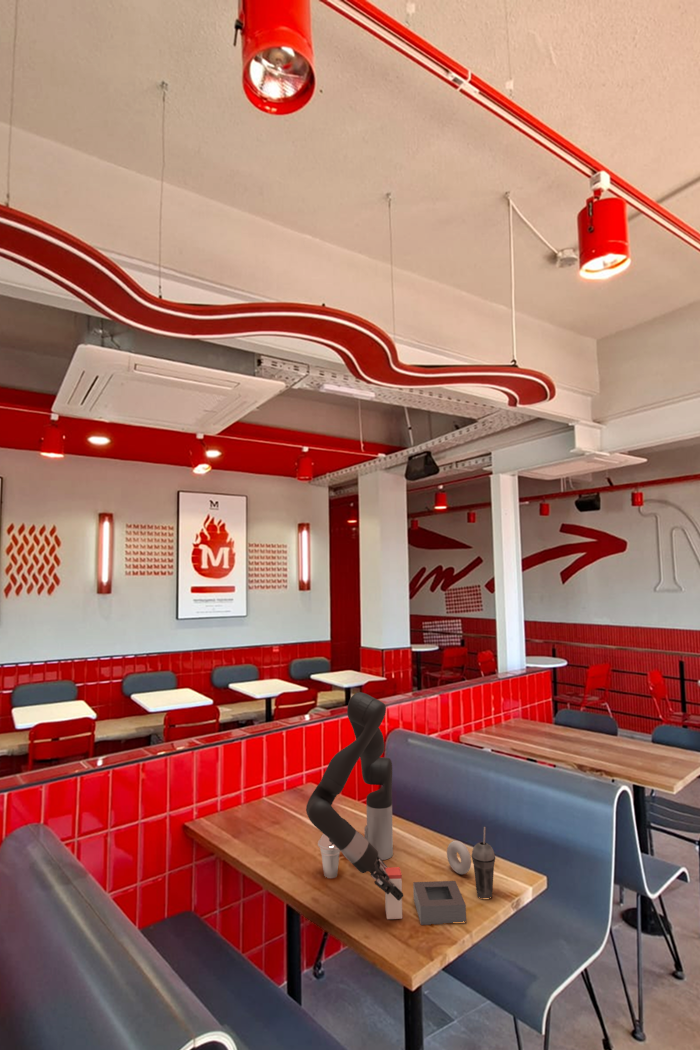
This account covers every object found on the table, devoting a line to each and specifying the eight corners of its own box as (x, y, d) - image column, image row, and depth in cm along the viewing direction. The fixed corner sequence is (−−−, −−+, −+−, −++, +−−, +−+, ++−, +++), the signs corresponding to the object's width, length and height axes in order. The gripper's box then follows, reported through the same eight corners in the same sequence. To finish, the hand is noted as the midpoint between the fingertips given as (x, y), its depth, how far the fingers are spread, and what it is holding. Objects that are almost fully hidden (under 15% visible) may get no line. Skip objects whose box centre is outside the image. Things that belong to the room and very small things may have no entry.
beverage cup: (467, 895, 176) (466, 828, 178) (480, 886, 182) (479, 821, 183) (488, 905, 171) (486, 835, 173) (501, 895, 176) (499, 828, 178)
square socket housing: (420, 924, 162) (420, 906, 162) (413, 899, 175) (413, 882, 175) (466, 923, 162) (465, 904, 163) (455, 897, 175) (455, 880, 176)
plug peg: (387, 919, 164) (386, 875, 165) (385, 910, 169) (385, 867, 170) (402, 918, 164) (401, 874, 166) (400, 909, 169) (399, 867, 170)
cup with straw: (320, 883, 184) (320, 818, 186) (315, 869, 193) (314, 808, 195) (346, 879, 187) (345, 815, 189) (339, 866, 195) (339, 805, 197)
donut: (473, 877, 187) (473, 845, 188) (466, 881, 185) (465, 848, 186) (452, 865, 195) (451, 834, 196) (444, 868, 193) (444, 837, 194)
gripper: (369, 852, 161) (412, 896, 160) (365, 830, 175) (405, 870, 175) (350, 873, 160) (394, 917, 160) (348, 849, 175) (388, 889, 174)
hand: (399, 892), depth 167 cm, fingers closed on plug peg, 4 cm apart
